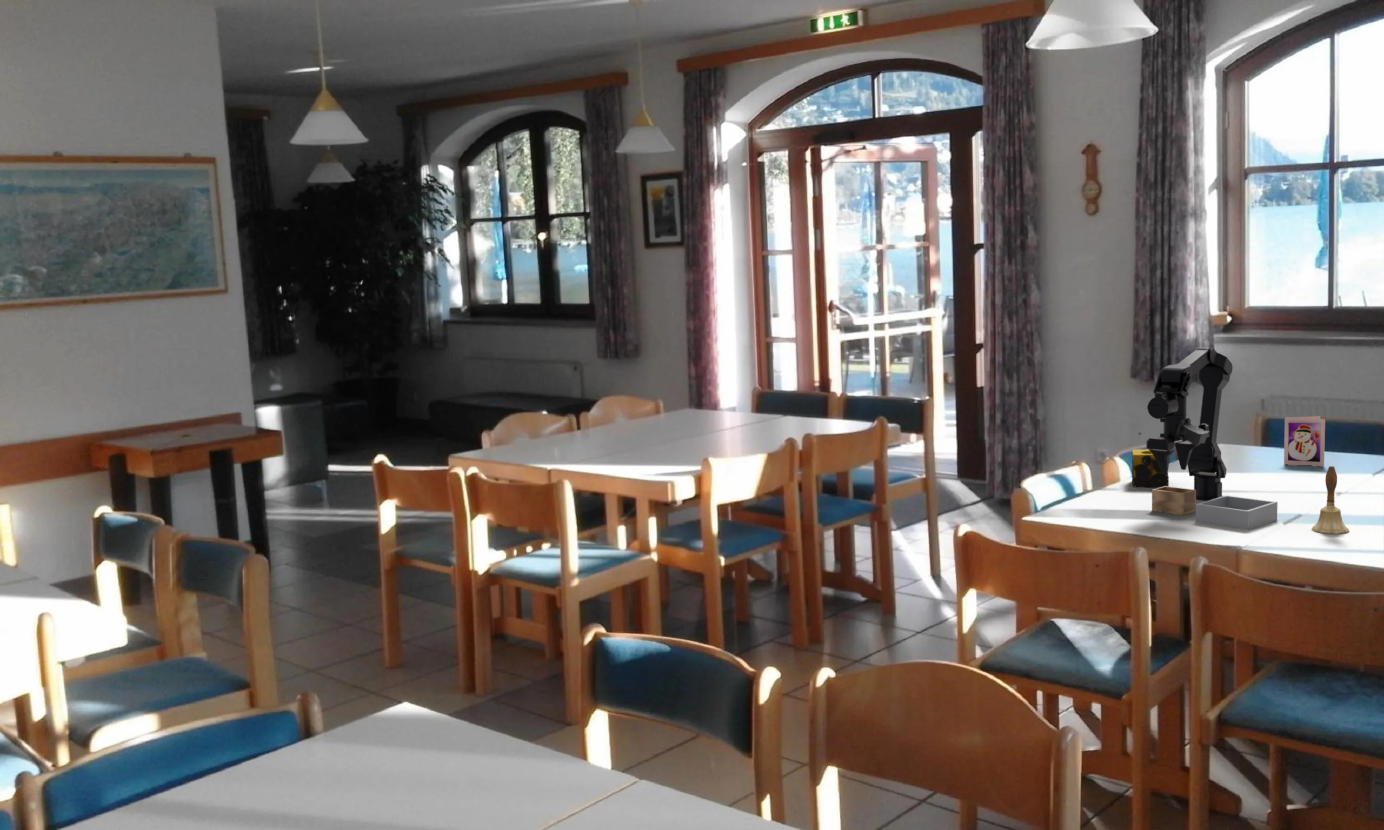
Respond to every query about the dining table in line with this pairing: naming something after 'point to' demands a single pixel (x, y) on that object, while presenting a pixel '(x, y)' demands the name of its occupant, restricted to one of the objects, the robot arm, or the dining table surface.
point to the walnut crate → (1174, 500)
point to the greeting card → (1304, 441)
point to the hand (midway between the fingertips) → (1174, 472)
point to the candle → (1147, 470)
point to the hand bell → (1330, 509)
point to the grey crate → (1236, 512)
